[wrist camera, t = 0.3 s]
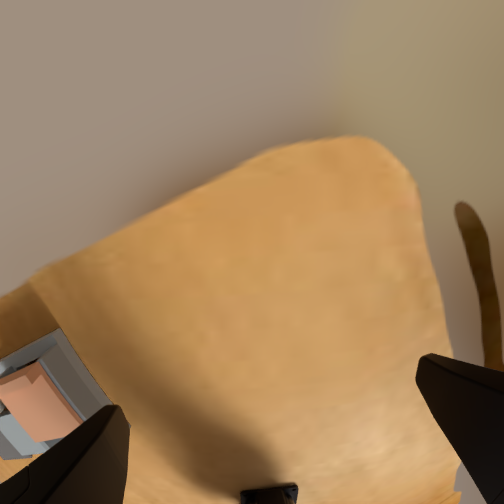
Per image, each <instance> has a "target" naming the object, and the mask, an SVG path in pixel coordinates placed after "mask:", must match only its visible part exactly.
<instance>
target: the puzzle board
mask: <svg viewBox="0 0 504 504" xmlns="http://www.w3.org/2000/svg"><path fill="white" fill-rule="evenodd" d="M39 357H40V358H39ZM37 358H39V359H38V360H37V361H36V362H38V361H39V363H40V364H41V366H42V367H43V369H44V370H45V372H46V373H47V375H48V376H49V377H50V379H51V380H52V382H53V383H54V384H55V386H56V387H57V389H58V390H59V391H60V393H61V394H62V395H63V397H64V398H65V399H66V401H67V402H68V403H69V404H70V406H71V407H72V408H73V409H74V411H75V412H76V413H77V414H78V415H79V417H80V418H81V419H82V420H83V421H86V420H87V419H88V418H89V417H91V416H92V415H93V414H95V413H96V412H97V411H98V410H100V409H101V408H102V407H103V406H105V405H108V404H111V405H113V403H112V402H111V401H110V400H109V398H108V397H107V396H106V395H105V393H104V392H103V391H102V389H101V388H100V387H99V385H98V384H97V383H96V381H95V380H94V378H93V377H92V376H91V374H90V373H89V371H88V370H87V369H86V367H85V366H84V364H83V363H82V361H81V360H80V358H79V357H78V355H77V354H76V352H75V351H74V349H73V348H72V346H71V344H70V343H69V341H68V340H67V338H66V336H65V335H64V333H63V331H62V330H61V328H58V329H56V330H54V331H52V332H51V333H49V334H47V335H45V336H43V337H41V338H39V339H37V340H35V341H34V342H32V343H30V344H28V345H26V346H24V347H22V348H20V349H19V350H17V351H15V352H13V353H11V354H9V355H8V356H6V357H4V358H2V359H0V379H1V378H3V377H6V376H8V375H10V374H12V373H14V372H16V371H19V370H21V369H23V368H25V367H27V366H26V365H25V364H27V363H29V362H31V361H33V360H35V359H37ZM128 424H129V423H128ZM130 427H131V425H130V424H129V428H130ZM0 431H1V432H2V433H3V435H4V436H5V437H6V438H7V439H8V440H9V442H10V443H11V444H12V445H13V446H14V447H15V448H16V450H17V451H18V452H19V453H20V454H21V455H22V456H23V455H32V454H40V453H44V452H46V451H47V450H48V449H50V448H51V447H52V446H54V445H55V444H56V443H58V442H59V441H60V440H61V439H63V438H64V437H62V438H58V439H53V440H48V441H42V442H37V443H35V441H34V440H33V439H32V438H31V437H30V436H29V435H28V433H27V432H26V431H25V430H24V429H23V428H22V426H21V425H20V424H19V423H18V421H17V420H16V419H15V418H14V416H13V415H12V414H11V413H10V411H9V410H4V411H2V412H1V413H0Z"/></svg>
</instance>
